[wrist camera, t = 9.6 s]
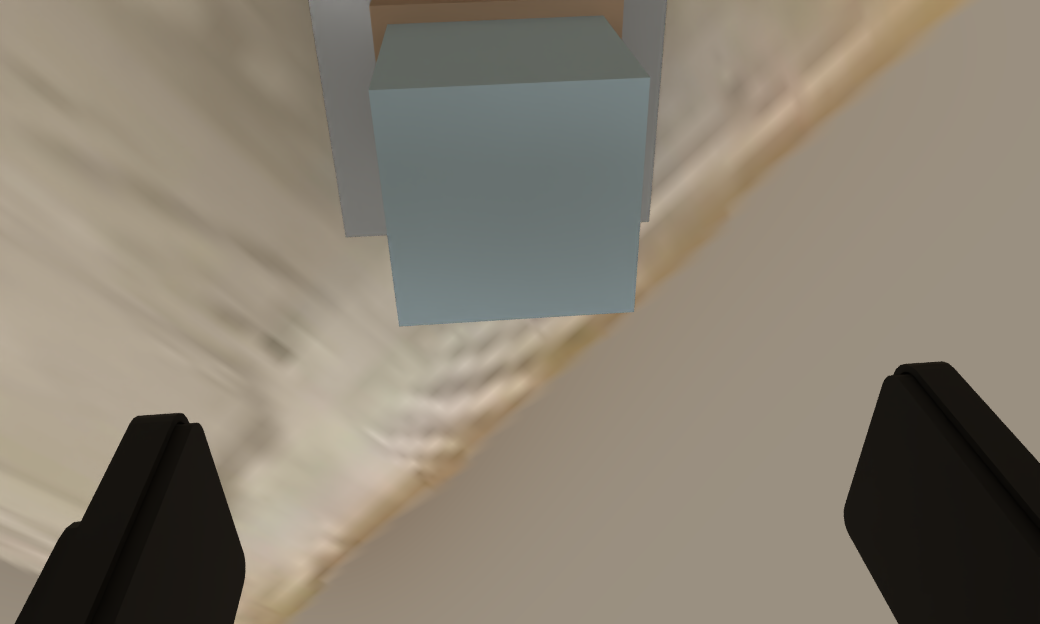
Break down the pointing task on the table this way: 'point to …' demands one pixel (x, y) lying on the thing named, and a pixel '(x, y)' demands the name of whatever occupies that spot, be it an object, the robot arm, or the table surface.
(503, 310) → the cube
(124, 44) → the table surface
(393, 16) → the walnut block
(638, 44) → the slate base
